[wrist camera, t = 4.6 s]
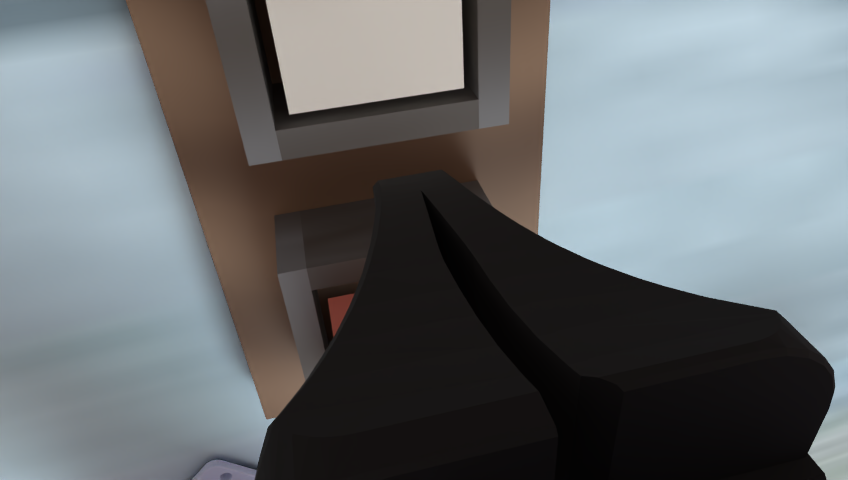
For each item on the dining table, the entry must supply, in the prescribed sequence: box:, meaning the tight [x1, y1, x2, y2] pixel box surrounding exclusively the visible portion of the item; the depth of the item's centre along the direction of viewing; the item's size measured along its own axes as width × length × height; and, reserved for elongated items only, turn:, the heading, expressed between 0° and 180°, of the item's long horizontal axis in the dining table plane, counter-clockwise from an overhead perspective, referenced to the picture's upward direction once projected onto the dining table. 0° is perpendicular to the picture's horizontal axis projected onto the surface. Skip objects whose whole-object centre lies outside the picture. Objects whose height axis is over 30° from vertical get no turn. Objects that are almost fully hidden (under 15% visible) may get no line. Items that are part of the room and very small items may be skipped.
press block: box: [126, 0, 550, 419], centre depth 18 cm, size 22×11×4 cm, turn 4°
